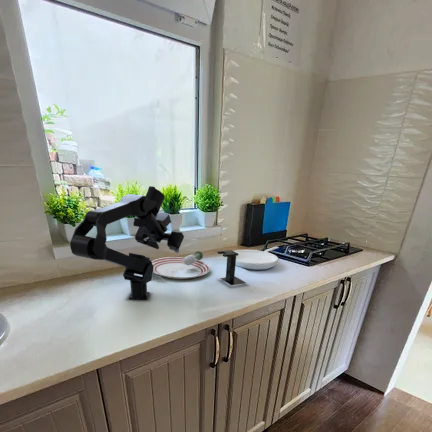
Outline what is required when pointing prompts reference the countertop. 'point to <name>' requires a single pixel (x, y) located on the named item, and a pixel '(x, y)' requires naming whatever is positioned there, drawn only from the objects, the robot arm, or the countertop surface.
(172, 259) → the dinner plate
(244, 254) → the white round dish
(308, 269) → the countertop surface
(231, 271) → the black bracket
